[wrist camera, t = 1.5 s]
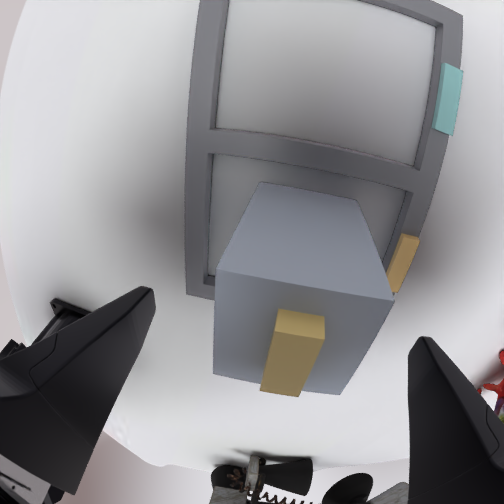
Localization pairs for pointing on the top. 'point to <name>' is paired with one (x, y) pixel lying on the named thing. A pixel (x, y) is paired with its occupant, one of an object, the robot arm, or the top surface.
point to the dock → (313, 153)
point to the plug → (298, 293)
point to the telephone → (294, 484)
